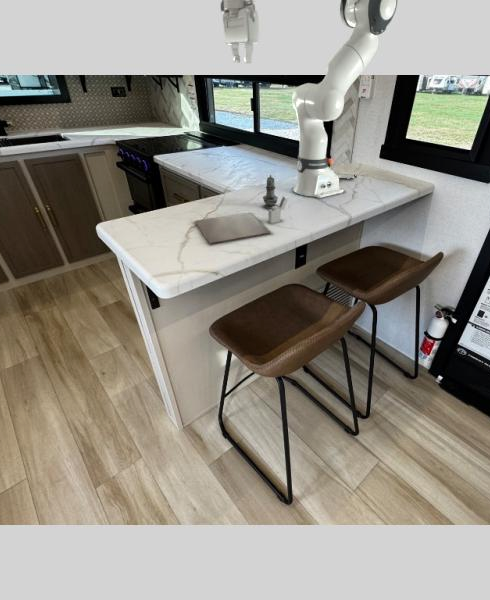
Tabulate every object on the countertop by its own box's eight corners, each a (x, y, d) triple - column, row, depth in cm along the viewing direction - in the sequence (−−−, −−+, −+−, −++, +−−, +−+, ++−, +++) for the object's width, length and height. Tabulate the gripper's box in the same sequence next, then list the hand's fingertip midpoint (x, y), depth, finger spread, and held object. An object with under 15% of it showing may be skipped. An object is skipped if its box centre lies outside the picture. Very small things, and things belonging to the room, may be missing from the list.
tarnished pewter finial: (270, 203, 125) (271, 171, 118) (281, 207, 122) (282, 175, 115) (259, 206, 122) (259, 174, 115) (269, 210, 119) (269, 178, 112)
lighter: (270, 223, 109) (271, 200, 105) (268, 221, 111) (268, 199, 106) (287, 219, 113) (288, 197, 108) (284, 217, 114) (285, 195, 109)
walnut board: (250, 214, 115) (250, 212, 115) (270, 234, 103) (270, 232, 102) (195, 222, 108) (195, 220, 107) (210, 244, 95) (210, 243, 95)
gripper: (264, -1, 85) (265, 64, 93) (237, 7, 99) (240, 62, 107) (242, -3, 82) (245, 63, 90) (218, 5, 96) (222, 61, 105)
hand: (242, 63), depth 99 cm, fingers open, 8 cm apart
